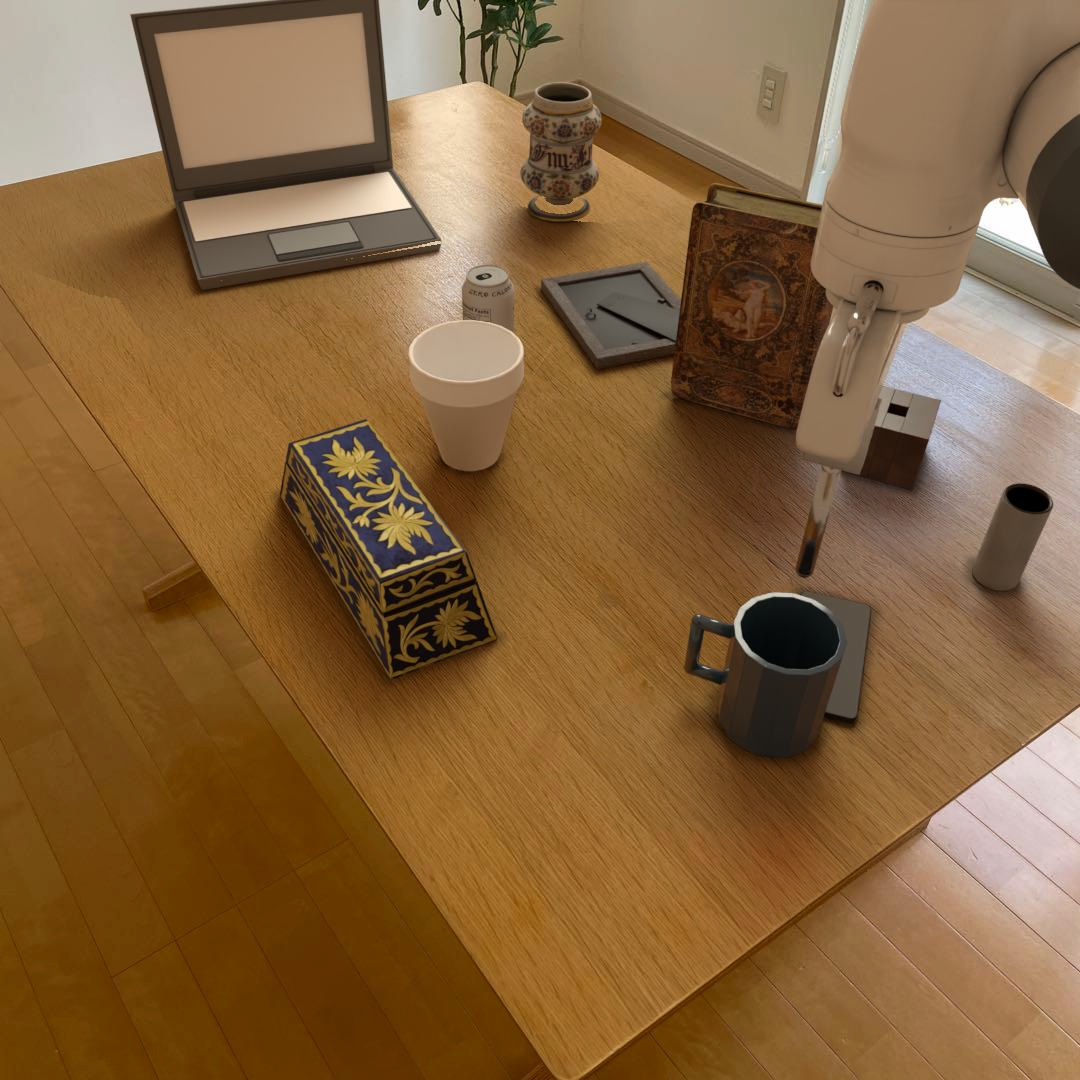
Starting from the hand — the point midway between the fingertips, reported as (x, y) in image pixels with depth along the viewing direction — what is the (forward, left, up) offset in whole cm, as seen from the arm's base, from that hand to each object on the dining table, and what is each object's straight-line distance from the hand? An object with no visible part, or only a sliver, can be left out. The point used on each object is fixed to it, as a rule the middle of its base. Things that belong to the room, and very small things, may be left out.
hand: (841, 434), depth 72 cm
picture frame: (+36, -57, -31) cm, 74 cm away
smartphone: (-3, -9, -31) cm, 33 cm away
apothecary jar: (+57, -83, -31) cm, 105 cm away
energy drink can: (+45, -35, -31) cm, 65 cm away
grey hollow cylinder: (-16, -27, -31) cm, 44 cm away
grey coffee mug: (+2, 0, -31) cm, 31 cm away
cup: (+41, -22, -31) cm, 56 cm away
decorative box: (+41, -2, -31) cm, 51 cm away
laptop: (+89, -60, -31) cm, 112 cm away
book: (+16, -45, -31) cm, 57 cm away
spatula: (0, 0, -14) cm, 14 cm away
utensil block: (-2, -41, -31) cm, 51 cm away
